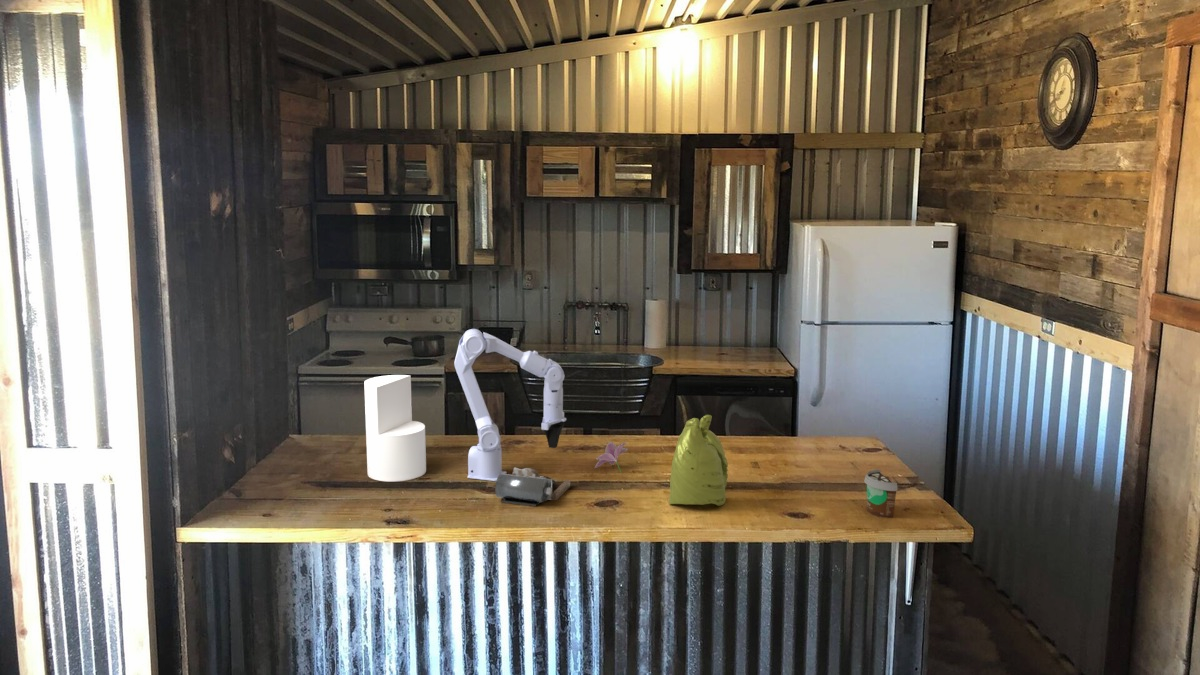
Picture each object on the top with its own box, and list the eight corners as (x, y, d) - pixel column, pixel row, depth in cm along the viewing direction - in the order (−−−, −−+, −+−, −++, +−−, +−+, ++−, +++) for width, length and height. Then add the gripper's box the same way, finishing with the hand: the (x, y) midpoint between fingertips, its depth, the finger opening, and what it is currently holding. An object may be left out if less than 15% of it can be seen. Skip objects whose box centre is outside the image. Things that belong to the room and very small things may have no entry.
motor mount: (488, 501, 250) (487, 477, 248) (514, 480, 267) (513, 457, 266) (547, 509, 245) (547, 484, 244) (570, 486, 262) (570, 463, 261)
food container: (855, 503, 251) (857, 469, 249) (877, 503, 251) (879, 468, 250) (872, 520, 239) (875, 484, 237) (895, 520, 239) (897, 483, 237)
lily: (634, 468, 283) (623, 439, 285) (640, 464, 272) (628, 434, 273) (598, 482, 281) (587, 453, 283) (603, 479, 270) (591, 449, 271)
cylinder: (355, 476, 269) (351, 384, 264) (389, 460, 285) (386, 372, 280) (404, 484, 263) (402, 390, 258) (437, 467, 279) (435, 378, 274)
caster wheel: (555, 496, 262) (544, 502, 253) (520, 483, 265) (507, 490, 255) (561, 474, 262) (550, 479, 252) (525, 462, 264) (513, 467, 255)
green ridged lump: (723, 514, 242) (726, 426, 238) (665, 509, 245) (667, 423, 241) (729, 484, 266) (732, 403, 262) (676, 480, 269) (678, 400, 265)
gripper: (557, 410, 262) (557, 455, 265) (573, 398, 276) (573, 441, 278) (534, 407, 264) (534, 453, 267) (551, 396, 278) (551, 439, 280)
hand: (552, 447), depth 273 cm, fingers closed
